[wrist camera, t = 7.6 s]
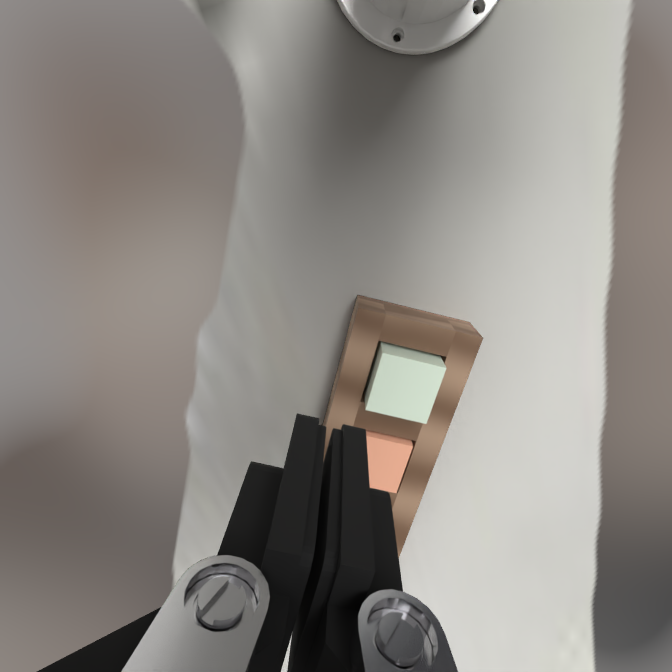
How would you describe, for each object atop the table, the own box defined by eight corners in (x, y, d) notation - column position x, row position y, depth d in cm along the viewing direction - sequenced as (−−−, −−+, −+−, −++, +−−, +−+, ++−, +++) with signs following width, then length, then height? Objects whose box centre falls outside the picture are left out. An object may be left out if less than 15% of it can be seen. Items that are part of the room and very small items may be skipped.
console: (357, 294, 37) (358, 309, 32) (469, 322, 37) (485, 340, 33) (283, 569, 47) (277, 607, 43) (371, 588, 48) (374, 627, 43)
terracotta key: (355, 414, 39) (355, 433, 36) (408, 426, 39) (412, 446, 36) (341, 459, 41) (341, 481, 38) (392, 470, 41) (396, 493, 38)
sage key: (379, 338, 35) (382, 352, 32) (438, 352, 35) (446, 368, 32) (364, 391, 37) (365, 409, 34) (420, 404, 37) (426, 424, 34)
